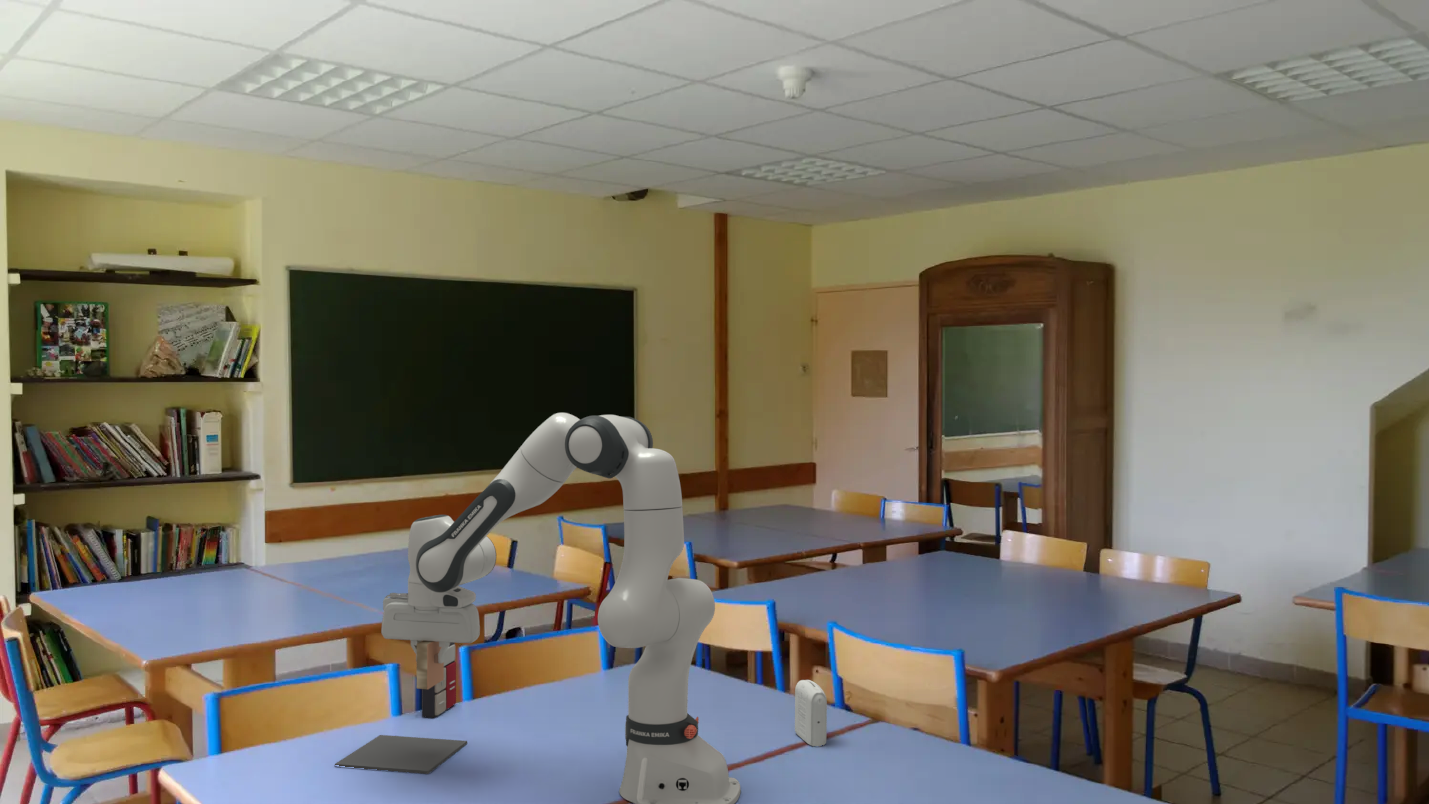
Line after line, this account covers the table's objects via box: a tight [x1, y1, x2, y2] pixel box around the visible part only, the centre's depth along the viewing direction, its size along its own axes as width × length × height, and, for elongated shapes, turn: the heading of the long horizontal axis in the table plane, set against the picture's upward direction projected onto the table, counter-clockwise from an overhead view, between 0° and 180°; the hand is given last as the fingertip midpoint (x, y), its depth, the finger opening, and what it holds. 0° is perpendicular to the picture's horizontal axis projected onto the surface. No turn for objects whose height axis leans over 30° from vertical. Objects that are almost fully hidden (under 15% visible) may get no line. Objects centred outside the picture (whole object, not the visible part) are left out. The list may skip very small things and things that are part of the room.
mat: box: [334, 734, 468, 775], centre depth 215 cm, size 20×18×1 cm
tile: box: [416, 641, 444, 690], centre depth 214 cm, size 2×7×9 cm, turn 169°
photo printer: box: [794, 679, 828, 747], centre depth 225 cm, size 10×4×12 cm, turn 17°
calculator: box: [421, 642, 457, 719], centre depth 245 cm, size 11×4×15 cm, turn 168°
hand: (430, 662), depth 214 cm, fingers closed on tile, 2 cm apart
